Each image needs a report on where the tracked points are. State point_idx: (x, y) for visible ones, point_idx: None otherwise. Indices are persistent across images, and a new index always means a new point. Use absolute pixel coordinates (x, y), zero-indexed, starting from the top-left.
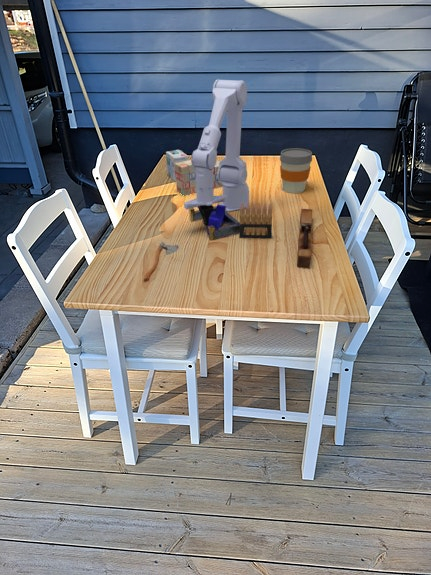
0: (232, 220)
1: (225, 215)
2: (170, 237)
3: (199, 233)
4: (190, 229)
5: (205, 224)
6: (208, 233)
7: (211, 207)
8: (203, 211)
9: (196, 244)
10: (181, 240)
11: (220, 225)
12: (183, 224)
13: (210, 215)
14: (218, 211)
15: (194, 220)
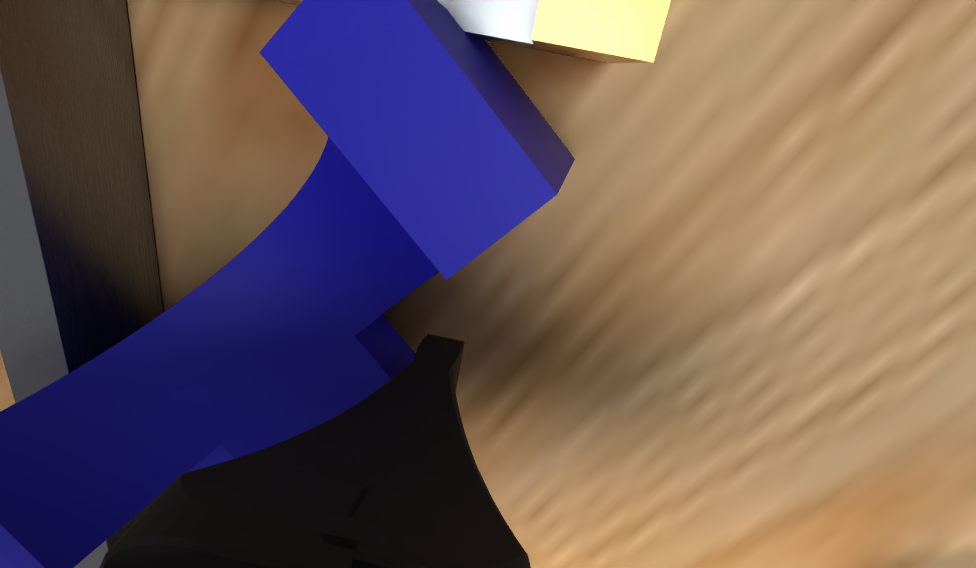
0: (10, 126)
1: (74, 363)
2: (952, 432)
3: (602, 289)
4: (614, 436)
5: (459, 362)
6: (560, 143)
7: (194, 560)
8: (516, 550)
9: (909, 12)
10: (938, 282)
11: (266, 232)
12: (592, 556)
13: None
14: (120, 466)
15: None
